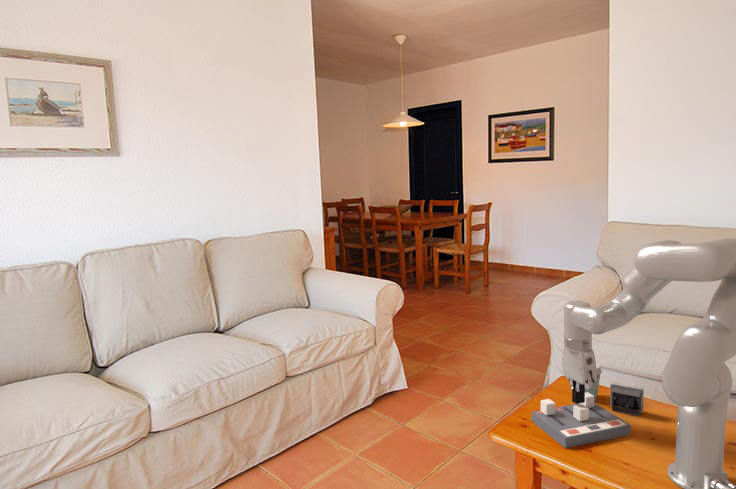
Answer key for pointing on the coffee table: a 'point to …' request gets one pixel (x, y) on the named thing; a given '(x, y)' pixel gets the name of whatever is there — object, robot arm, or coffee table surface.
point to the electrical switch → (626, 399)
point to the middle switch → (581, 412)
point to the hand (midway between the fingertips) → (578, 402)
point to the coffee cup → (595, 385)
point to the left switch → (547, 407)
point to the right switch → (588, 400)
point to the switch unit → (581, 426)
